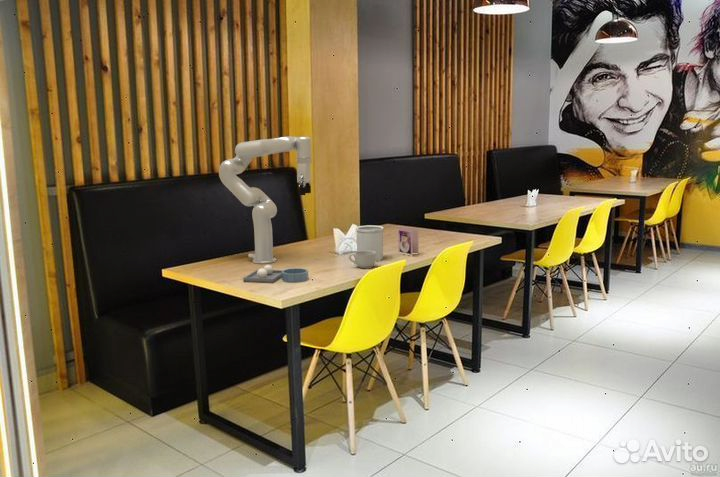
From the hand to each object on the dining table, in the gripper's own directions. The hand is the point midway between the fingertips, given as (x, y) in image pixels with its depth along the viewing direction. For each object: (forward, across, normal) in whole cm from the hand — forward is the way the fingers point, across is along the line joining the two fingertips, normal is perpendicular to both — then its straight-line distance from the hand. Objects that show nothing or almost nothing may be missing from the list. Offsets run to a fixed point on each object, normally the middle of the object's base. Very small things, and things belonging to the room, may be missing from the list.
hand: (305, 194), depth 333 cm
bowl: (+37, +36, +5) cm, 52 cm away
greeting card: (+37, -31, +50) cm, 70 cm away
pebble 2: (+34, +32, -10) cm, 47 cm away
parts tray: (+37, +36, -10) cm, 52 cm away
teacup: (+37, +5, +31) cm, 49 cm away
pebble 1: (+34, +40, -10) cm, 53 cm away
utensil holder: (+37, -15, +31) cm, 51 cm away
